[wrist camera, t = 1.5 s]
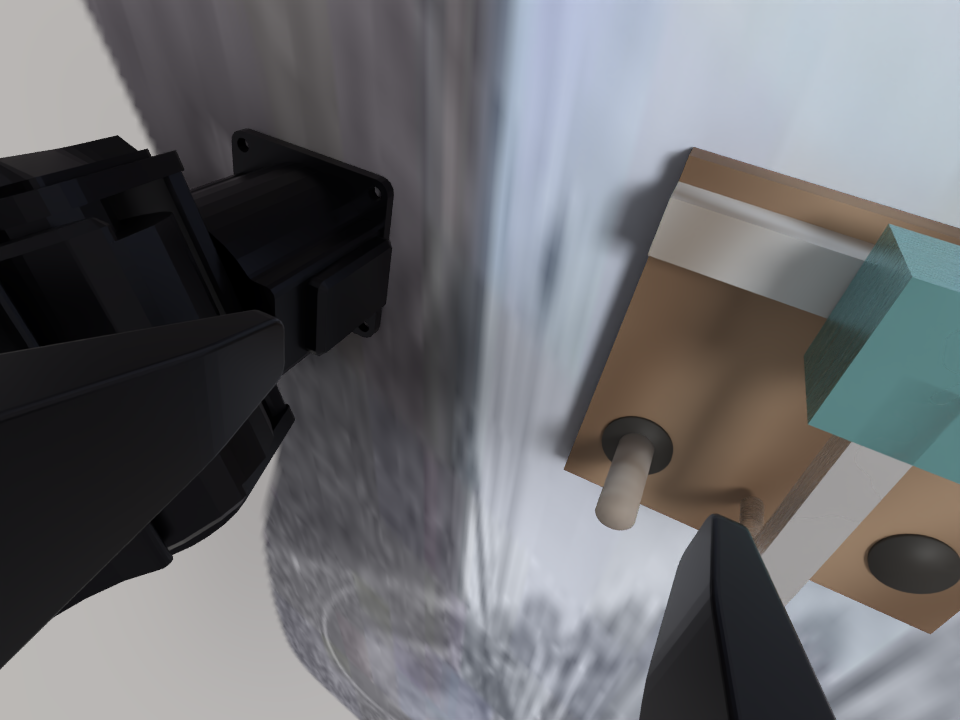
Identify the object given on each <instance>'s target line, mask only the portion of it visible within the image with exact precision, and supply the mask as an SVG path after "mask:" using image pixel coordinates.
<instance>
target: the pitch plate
mask: <svg viewBox="0 0 960 720" xmlns="http://www.w3.org/2000/svg"><path fill="white" fill-rule="evenodd" d="M888 224H892V225H895V226H898V227H901V228H904V229H907V230H911V231H914V232H917V233H920V234H923V235H927V236H930V237H933V238H936V239H939V240H943V241H946V242H949V243H952V244H955V245H959V246H960V229H959V228H956V227H953V226H949V225H946V224H943V223H940V222H936V221H933V220H930V219H927V218H923V217H920V216H917V215H914V214H910V213H907V212H904V211H901V210H897V209H894V208H891V207H888V206H884V205H881V204H878V203H874V202H871V201H868V200H865V199H861V198H858V197H855V196H852V195H848V194H845V193H842V192H839V191H835V190H832V189H829V188H826V187H822V186H819V185H816V184H813V183H809V182H806V181H803V180H800V179H796V178H793V177H790V176H787V175H783V174H780V173H777V172H773V171H770V170H767V169H764V168H760V167H757V166H754V165H751V164H747V163H744V162H741V161H738V160H734V159H731V158H728V157H725V156H721V155H718V154H715V153H712V152H708V151H705V150H702V149H699V148H695V147H693V149H692V151H691V153H690V155H689V157H688V159H687V162H686V164H685V167H684V169H683V172H682V174H681V177H680V179H679V182H678V184H677V186H676V188H675V189H674V191H673V193H672V195H671V197H670V200H669V202H668V205H667V207H666V210H665V212H664V215H663V217H662V220H661V222H660V225H659V227H658V230H657V232H656V235H655V237H654V240H653V242H652V245H651V247H650V250H649V253H648V255H649V257H648V260H647V262H646V265H645V267H644V270H643V272H642V275H641V277H640V280H639V282H638V285H637V287H636V290H635V292H634V295H633V297H632V300H631V302H630V305H629V307H628V310H627V312H626V315H625V317H624V320H623V322H622V325H621V327H620V330H619V332H618V335H617V337H616V340H615V342H614V345H613V347H612V350H611V352H610V355H609V357H608V360H607V362H606V365H605V367H604V370H603V372H602V375H601V377H600V380H599V382H598V385H597V387H596V390H595V392H594V395H593V397H592V400H591V402H590V405H589V407H588V410H587V412H586V415H585V417H584V420H583V422H582V425H581V427H580V430H579V432H578V435H577V437H576V440H575V442H574V445H573V447H572V450H571V452H570V455H569V457H568V460H567V462H566V465H565V467H564V470H566V471H568V472H570V473H572V474H575V475H577V476H579V477H581V478H584V479H586V480H588V481H590V482H592V483H595V484H597V485H599V486H601V487H603V489H602V492H601V494H600V497H599V500H598V503H597V506H596V509H595V513H596V516H597V518H598V519H599V521H600V522H601V523H602V524H604V525H605V526H607V527H609V528H611V529H614V530H627V529H629V528H631V527H632V526H633V525H634V523H635V520H636V517H637V513H638V509H639V506H640V504H641V505H644V506H646V507H648V508H650V509H653V510H655V511H657V512H659V513H662V514H664V515H666V516H668V517H670V518H673V519H675V520H677V521H679V522H682V523H684V524H686V525H688V526H690V527H693V528H695V529H697V530H699V529H700V527H701V526H702V524H703V523H704V521H705V520H706V519H707V517H708V516H710V515H711V514H715V513H717V514H720V515H722V516H725V517H727V518H729V519H731V520H734V521H736V522H738V523H739V517H740V505H741V500H742V499H743V498H745V497H747V496H754V497H757V498H759V499H761V500H762V501H763V503H764V525H765V523H766V522H767V521H768V519H769V518H770V517H771V515H772V514H773V513H774V512H775V510H776V509H777V508H778V506H779V505H780V504H781V502H782V501H783V500H784V498H785V497H786V496H787V494H788V493H789V492H790V490H791V489H792V488H793V486H794V485H795V484H796V482H797V481H798V480H799V478H800V477H801V476H802V474H803V473H804V472H805V470H806V469H807V468H808V467H809V465H810V464H811V463H812V461H813V460H814V459H815V457H816V456H817V455H818V453H819V452H820V451H821V449H822V448H823V447H824V445H825V444H826V443H827V441H828V440H829V439H830V437H831V436H832V435H833V434H831V433H828V432H826V431H823V430H821V429H818V428H816V427H813V426H811V425H808V420H807V403H806V387H805V370H804V354H805V353H806V351H807V350H808V348H809V347H810V345H811V343H812V342H813V340H814V339H815V337H816V336H817V334H818V333H819V331H820V329H821V328H822V326H823V325H824V323H825V322H826V320H827V319H828V317H829V316H830V314H831V312H832V311H833V309H834V308H835V306H836V305H837V303H838V302H839V300H840V298H841V297H842V295H843V294H844V292H845V291H846V289H847V288H848V286H849V284H850V283H851V281H852V280H853V278H854V277H855V275H856V274H857V272H858V270H859V269H860V267H861V266H862V264H863V263H864V261H865V260H866V258H867V256H868V255H869V253H870V252H871V250H872V249H873V247H874V246H875V244H876V243H877V241H878V239H879V238H880V236H881V235H882V233H883V232H884V230H885V229H886V227H887V225H888ZM809 580H811V581H813V582H815V583H817V584H820V585H822V586H824V587H826V588H829V589H831V590H833V591H835V592H837V593H840V594H842V595H844V596H846V597H849V598H851V599H853V600H855V601H858V602H860V603H862V604H864V605H866V606H869V607H871V608H873V609H875V610H878V611H880V612H882V613H884V614H886V615H889V616H891V617H893V618H895V619H898V620H900V621H902V622H904V623H907V624H909V625H911V626H913V627H915V628H918V629H920V630H922V631H924V632H927V633H929V634H931V633H933V632H934V631H935V630H936V629H938V628H939V627H940V626H941V625H943V624H944V623H945V622H946V621H947V620H949V619H950V618H951V617H952V616H954V615H955V614H956V613H957V612H959V611H960V484H958V483H955V482H953V481H950V480H948V479H945V478H943V477H940V476H938V475H935V474H932V473H930V472H927V471H925V470H922V469H920V468H917V467H915V466H912V467H911V468H910V469H909V470H908V471H907V472H906V474H905V475H904V476H903V477H902V478H901V479H900V480H899V481H898V482H897V483H896V485H895V486H894V487H893V488H892V489H891V490H890V491H889V492H888V493H887V494H886V496H885V497H884V498H883V499H882V500H881V501H880V502H879V503H878V504H877V506H876V507H875V508H874V509H873V510H872V511H871V512H870V513H869V514H868V515H867V517H866V518H865V519H864V520H863V521H862V522H861V523H860V524H859V525H858V526H857V528H856V529H855V530H854V531H853V532H852V533H851V534H850V535H849V536H848V538H847V539H846V540H845V541H844V542H843V543H842V544H841V545H840V546H839V547H838V549H837V550H836V551H835V552H834V553H833V554H832V555H831V556H830V557H829V558H828V560H827V561H826V562H825V563H824V564H823V565H822V566H821V567H820V568H819V570H818V571H817V572H816V573H815V574H814V575H813V576H812V577H811V578H810V579H809Z"/></svg>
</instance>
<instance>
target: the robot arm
mask: <svg viewBox="0 0 960 720" xmlns="http://www.w3.org/2000/svg"><path fill="white" fill-rule="evenodd" d="M245 140H246V141H247V143H248V146H249V148H248V147H247V146H246V143H245ZM232 154H233V171H234V175H232V176H229V177H226V178H223V179H220V180H217V181H214V182H211V183H209V184H206V185H203V186H200V187H197V188H194V189H191V190H189V188H188V185H187V183H186V181H185V179H184V177H183V174H182V172H181V171H184V168H183V165H182V163H181V161H180V158H179V156H178V154H177V152H176V150H175V151H171V152H167V153H163V154H159V155H156V156H152V157H151V154H150V152H149V150H148V149H144V150H140V151H137V150H136V149H135V148H134V147H132V146H131V145H129V144H128V143H127V142H126V141H124V140H123V139H122V138H120V137H119V136H118V135H117V136H113V137H108V138H104V139H100V140H95V141H91V142H86V143H82V144H78V145H73V146H68V147H64V148H59V149H53V150H48V151H41V152H35V153H29V154H23V155H17V156H11V157H5V158H0V669H1V668H2V667H3V666H4V665H5V664H6V663H7V662H8V661H9V660H10V659H11V658H12V657H13V656H14V655H15V654H16V653H17V652H18V651H19V650H20V649H21V648H22V647H24V645H26V644H27V642H28V641H30V640H31V639H32V638H33V637H34V636H35V635H36V634H37V633H38V632H39V631H40V630H41V629H42V628H43V627H44V626H45V625H46V624H47V623H48V622H49V621H50V620H51V619H52V618H53V617H55V616H56V615H58V614H60V613H62V612H63V611H65V610H67V609H69V608H70V607H72V606H74V605H75V604H77V603H79V602H81V601H82V600H84V599H86V598H88V597H90V596H92V595H95V594H97V593H98V592H101V591H103V590H105V589H107V588H110V587H112V586H114V585H116V584H118V583H120V582H123V581H125V580H128V579H131V578H134V577H138V576H141V575H144V574H147V573H151V572H154V571H157V570H160V569H163V568H165V567H166V566H168V565H169V564H170V563H171V562H172V560H173V556H172V555H173V554H175V553H178V552H180V551H182V550H184V549H187V548H189V547H191V546H193V545H195V544H196V543H198V542H200V541H201V540H203V539H205V538H206V537H208V536H210V535H211V534H212V533H213V532H215V531H216V530H218V529H219V528H220V527H222V526H223V525H224V524H225V523H226V522H227V521H228V520H229V519H230V518H231V517H232V516H234V515H235V513H237V511H238V510H239V509H240V507H241V506H242V505H243V503H244V502H245V501H246V499H247V497H248V496H249V494H250V493H251V491H252V489H253V488H254V486H255V484H256V483H257V481H258V479H259V478H260V476H261V475H262V473H263V471H264V470H265V468H266V467H267V465H268V463H269V462H270V460H271V458H272V457H273V455H274V454H275V452H276V450H277V449H278V447H279V445H280V444H281V442H282V441H283V439H284V437H285V436H286V434H287V432H288V431H289V429H290V428H291V426H292V424H293V423H294V421H295V418H294V415H293V413H292V411H291V409H290V406H289V405H288V404H285V403H284V400H283V398H282V396H281V394H280V392H279V389H278V387H277V385H276V383H277V382H278V380H279V379H280V377H281V376H282V375H283V374H284V373H285V372H287V371H288V370H289V369H291V368H292V367H293V366H294V365H296V364H297V363H298V362H299V361H301V360H302V359H303V358H305V357H306V356H307V355H308V354H310V353H313V354H315V355H317V356H320V355H322V354H324V353H326V352H327V351H329V350H330V349H331V348H332V347H334V346H335V345H336V344H337V343H339V342H340V341H341V340H342V339H344V338H345V337H346V336H347V335H348V334H350V333H351V332H353V333H355V334H358V335H360V336H362V337H366V338H367V337H371V336H372V335H373V334H374V333H376V332H377V331H378V330H379V327H380V319H381V309H382V307H383V306H384V305H385V304H386V298H387V289H388V280H389V271H390V262H391V253H392V247H391V244H390V241H389V234H390V225H391V216H392V206H393V197H394V192H393V188H392V185H391V183H390V182H389V181H388V180H387V179H386V178H384V177H382V176H380V175H377V174H374V173H371V172H368V171H366V170H363V169H360V168H357V167H355V166H352V165H349V164H346V163H343V162H341V161H338V160H335V159H332V158H330V157H327V156H324V155H321V154H318V153H316V152H313V151H310V150H307V149H305V148H302V147H299V146H296V145H293V144H291V143H288V142H285V141H282V140H280V139H277V138H274V137H271V136H268V135H266V134H263V133H260V132H257V131H254V130H252V129H242V130H238V131H236V132H234V134H233V136H232ZM375 186H376V187H377V188H379V190H380V191H381V198H380V197H379V196H377V194H376V193H375ZM364 322H366V323H367V324H368V326H369V327H367V326H366V325H365V324H364ZM639 720H836V718H835V716H834V714H833V711H832V709H831V707H830V705H829V703H828V701H827V698H826V696H825V694H824V692H823V690H822V688H821V685H820V683H819V681H818V679H817V677H816V675H815V672H814V670H813V668H812V666H811V664H810V662H809V659H808V657H807V655H806V653H805V651H804V649H803V646H802V644H801V642H800V640H799V638H798V635H797V633H796V631H795V629H794V627H793V625H792V622H791V620H790V618H789V616H788V614H787V612H786V609H785V607H784V605H783V603H782V601H781V599H780V596H779V594H778V592H777V590H776V588H775V586H774V583H773V581H772V579H771V577H770V575H769V573H768V570H767V568H766V566H765V564H764V562H763V560H762V557H761V555H760V553H759V551H758V549H757V547H756V544H755V542H754V540H753V538H752V536H751V533H750V532H749V530H748V529H747V528H746V527H745V526H744V525H743V524H741V523H738V522H736V521H734V520H731V519H729V518H727V517H725V516H722V515H720V514H717V513H715V514H711V515H710V516H708V517H707V519H706V520H705V521H704V523H703V524H702V526H701V527H700V529H699V531H698V532H697V534H696V535H695V537H694V538H693V540H692V541H691V543H690V544H689V546H688V547H687V549H686V550H685V552H684V554H683V556H682V558H681V560H680V562H679V565H678V568H677V571H676V575H675V578H674V582H673V585H672V589H671V592H670V596H669V599H668V603H667V606H666V610H665V613H664V617H663V620H662V624H661V627H660V631H659V634H658V638H657V642H656V645H655V649H654V652H653V656H652V659H651V663H650V667H649V671H648V675H647V678H646V683H645V688H644V694H643V699H642V705H641V711H640V718H639Z"/></svg>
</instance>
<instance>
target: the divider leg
mask: <svg viewBox="0 0 960 720" xmlns="http://www.w3.org/2000/svg"><path fill="white" fill-rule="evenodd" d="M804 370H805V387H806V403H807V420H808V425H811V426H813V427H816V428H818V429H821V430H823V431H826V432H828V433H831V434H833V435H832V436H831V437H830V439H829V440H828V441H827V443H826V444H825V445H824V447H823V448H822V449H821V451H820V452H819V453H818V455H817V456H816V457H815V459H814V460H813V461H812V463H811V464H810V465H809V467H808V468H807V469H806V470H805V472H804V473H803V474H802V476H801V477H800V478H799V480H798V481H797V482H796V484H795V485H794V486H793V488H792V489H791V490H790V492H789V493H788V494H787V496H786V497H785V498H784V500H783V501H782V502H781V504H780V505H779V506H778V508H777V509H776V510H775V512H774V513H773V514H772V515H771V517H770V518H769V519H768V521H767V522H766V523H765V525H764V503H763V501H762V500H761V499H759V498H757V497H754V496H747V497H745V498H743V499H742V500H741V505H740V517H739V523H741V524H743V525H744V526H745V527H746V528H747V529H748V530H749V532H750V533H751V536H752V538H753V540H754V542H755V544H756V547H757V549H758V551H759V553H760V555H761V557H762V560H763V562H764V564H765V566H766V568H767V570H768V573H769V575H770V577H771V579H772V581H773V583H774V586H775V588H776V590H777V592H778V594H779V596H780V599H781V601H782V603H783V605H784V607H785V606H786V605H787V604H788V603H789V601H790V600H791V599H792V598H793V597H794V596H795V595H796V594H797V593H798V592H799V590H800V589H801V588H802V587H803V586H804V585H805V584H806V583H807V582H808V581H809V579H810V578H811V577H812V576H813V575H814V574H815V573H816V572H817V571H818V570H819V568H820V567H821V566H822V565H823V564H824V563H825V562H826V561H827V560H828V558H829V557H830V556H831V555H832V554H833V553H834V552H835V551H836V550H837V549H838V547H839V546H840V545H841V544H842V543H843V542H844V541H845V540H846V539H847V538H848V536H849V535H850V534H851V533H852V532H853V531H854V530H855V529H856V528H857V526H858V525H859V524H860V523H861V522H862V521H863V520H864V519H865V518H866V517H867V515H868V514H869V513H870V512H871V511H872V510H873V509H874V508H875V507H876V506H877V504H878V503H879V502H880V501H881V500H882V499H883V498H884V497H885V496H886V494H887V493H888V492H889V491H890V490H891V489H892V488H893V487H894V486H895V485H896V483H897V482H898V481H899V480H900V479H901V478H902V477H903V476H904V475H905V474H906V472H907V471H908V470H909V469H910V468H911V467H912V466H915V467H917V468H920V469H922V470H925V471H927V472H930V473H932V474H935V475H938V476H940V477H943V478H945V479H948V480H950V481H953V482H955V483H958V484H960V246H959V245H955V244H952V243H949V242H946V241H943V240H939V239H936V238H933V237H930V236H927V235H923V234H920V233H917V232H914V231H911V230H907V229H904V228H901V227H898V226H895V225H892V224H888V225H887V227H886V229H885V230H884V232H883V233H882V235H881V236H880V238H879V239H878V241H877V243H876V244H875V246H874V247H873V249H872V250H871V252H870V253H869V255H868V256H867V258H866V260H865V261H864V263H863V264H862V266H861V267H860V269H859V270H858V272H857V274H856V275H855V277H854V278H853V280H852V281H851V283H850V284H849V286H848V288H847V289H846V291H845V292H844V294H843V295H842V297H841V298H840V300H839V302H838V303H837V305H836V306H835V308H834V309H833V311H832V312H831V314H830V316H829V317H828V319H827V320H826V322H825V323H824V325H823V326H822V328H821V329H820V331H819V333H818V334H817V336H816V337H815V339H814V340H813V342H812V343H811V345H810V347H809V348H808V350H807V351H806V353H805V354H804Z"/></svg>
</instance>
